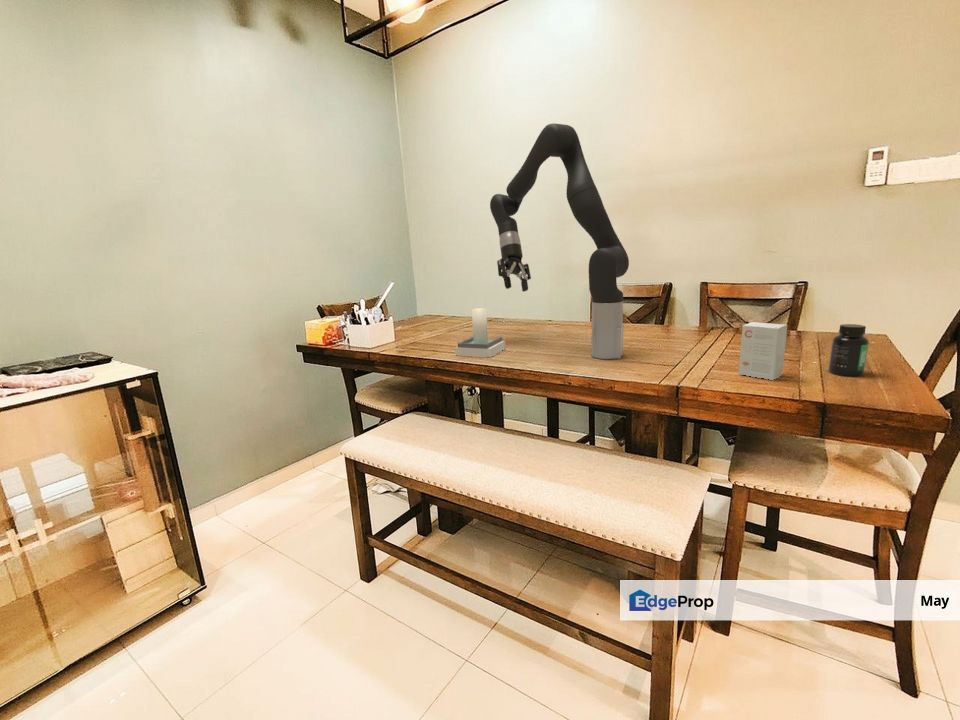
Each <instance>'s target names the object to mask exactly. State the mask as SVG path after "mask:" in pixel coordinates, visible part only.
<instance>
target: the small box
mask: <svg viewBox="0 0 960 720" xmlns="http://www.w3.org/2000/svg"><path fill="white" fill-rule="evenodd" d="M787 333H788V324H782V323H770V322H769V323H767V322H754V321H751V322H749V323H745V324H743V325H742V328H741V339H740V340H741V341H740V349H739V350H740V352H739V361H738V363H739V365H738V375H739V374H740V375H739V376H742V375H746V376H745V377H749V376H751V377H750V378H755V377H757V378H756V379H761V378H764V379H763V380H768V379H769V380H768V381H775V380H777V379H778V378H780V377H781V376H783V372H784V365H785V364H784V363H785V356H786V355H785V354H786V353H785V352H786V344H787V335H788V334H787ZM776 378H777V379H776ZM774 379H775V380H774Z"/></svg>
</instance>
